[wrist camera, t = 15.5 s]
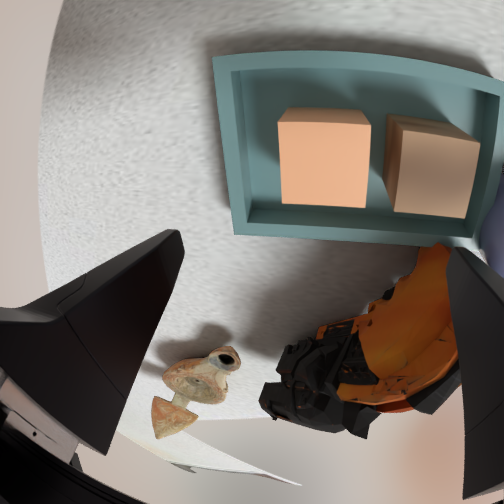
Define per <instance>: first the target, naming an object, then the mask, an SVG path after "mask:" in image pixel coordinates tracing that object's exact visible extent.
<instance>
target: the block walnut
mask: <svg viewBox="0 0 504 504" xmlns="http://www.w3.org/2000/svg"><path fill="white" fill-rule="evenodd" d="M479 150H480V142H478V141H477V140H475V139H474V138H473V137H471V136H470V135H468V134H467V133H465V132H464V131H463V130H461V129H460V128H458V127H457V126H455V125H454V124H452V123H449V122H444V121H438V120H432V119H426V118H419V117H412V116H404V115H396V114H387V117H386V137H385V151H384V164H383V174H382V180H383V183H384V186H385V188H386V191H387V194H388V196H389V199H390V202H391V205H392V208H393V210H394V212H405V213H416V214H426V215H436V216H446V217H455V218H464V219H465V216H466V212H467V208H468V204H469V200H470V196H471V191H472V187H473V182H474V177H475V172H476V167H477V162H478V156H479Z"/></svg>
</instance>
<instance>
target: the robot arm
mask: <svg viewBox="0 0 504 504" xmlns="http://www.w3.org/2000/svg"><path fill="white" fill-rule="evenodd" d="M184 254H185V250H184V246H183V242H182V238H181V234H180V232H179V231H178V230H176V229H167V230H165V231H163V232H161V233H159V234H157V235H155V236H153V237H151V238H149V239H147V240H145V241H144V242H142V243H140V244H138V245H136V246H134V247H132V248H130V249H129V250H127V251H125V252H123V253H121V254H119V255H117V256H116V257H114V258H112V259H110V260H108V261H106V262H105V263H103V264H101V265H99V266H97V267H96V268H94V269H92V270H90V271H89V272H87V273H85V274H83V275H81V276H80V277H78V278H76V279H74V280H73V281H71V282H69V283H67V284H65V285H64V286H62V287H60V288H58V289H56V290H54V291H52V292H50V293H48V294H46V295H44V296H42V297H41V298H39V299H37V300H35V301H33V302H31V303H29V304H27V305H25V306H22V307H18V308H3V307H0V504H148V503H145V502H143V501H141V500H138V499H136V498H134V497H131V496H129V495H127V494H125V493H122V492H120V491H118V490H116V489H114V488H112V487H110V486H108V485H106V484H104V483H102V482H100V481H98V480H96V479H94V478H92V477H90V476H89V475H87V474H85V473H83V470H82V467H81V464H80V461H79V458H78V454H77V453H75V450H76V448H77V446H78V444H79V443H81V444H83V445H85V446H86V447H89V448H90V449H92V450H94V451H96V452H98V453H100V454H102V455H104V456H106V454H107V452H108V449H109V447H110V444H111V441H112V439H113V436H114V433H115V430H116V428H117V425H118V422H119V420H120V417H121V414H122V412H123V409H124V407H125V404H126V401H127V398H128V396H129V393H130V391H131V388H132V386H133V383H134V381H135V378H136V376H137V373H138V371H139V368H140V366H141V363H142V361H143V359H144V356H145V354H146V351H147V349H148V347H149V344H150V342H151V340H152V337H153V335H154V333H155V330H156V328H157V326H158V323H159V321H160V319H161V317H162V314H163V312H164V310H165V308H166V305H167V303H168V301H169V299H170V296H171V294H172V291H173V289H174V286H175V283H176V280H177V276H178V273H179V270H180V267H181V264H182V262H183V259H184ZM446 279H447V287H448V295H449V303H450V312H451V318H452V323H453V328H454V334H455V340H456V346H457V352H458V359H459V366H460V374H461V383H462V394H463V406H464V424H465V425H464V427H465V435H466V436H465V460H464V461H465V462H464V463H465V464H464V484H463V500H464V499H469V498H473V497H477V496H481V495H484V494H488V493H491V492H495V491H498V490H501V489H504V278H503V277H501V276H500V275H499V274H498V273H497V272H496V271H494V270H493V269H492V268H491V267H490V266H488V265H487V264H486V263H485V262H483V261H482V260H481V259H480V258H478V257H477V256H476V255H475V254H473V253H472V252H471V251H469V250H468V249H467V248H465V247H459V246H455V247H453V249H452V251H451V254H450V257H449V260H448V263H447V266H446ZM493 504H504V499H503V500H501V501H498V502H495V503H493Z"/></svg>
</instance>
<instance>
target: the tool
mask: <svg viewBox="0 0 504 504" xmlns="http://www.w3.org/2000/svg"><path fill="white" fill-rule="evenodd" d="M451 251H452V248H450V247H448V246H444V245H441V244H440V243H439V242H437V243H436V244H435V245H434V246H432V247H422V246H421V247H420V249H419V250H418V258H417V263H416V267H415V269H414V270H413V272H412V273H411V274H410V275H407V276H404V277H401V278H400V279H399V280H398V282H397V284H396V286H395V288H392V289H390V290H388V291H386V292H385V293H384V295H383V297H382V299H379V300H376V301H374V302H372V303H369V308H368V314H364V315H361V316H357V317H354V318H351V319H347V320H343V321H340V322H336V323H333V324H329V325H325V326H321V327H319V329H318V333H317V336H316V339H313V338H311V337H308V340H301V341H298V344H297V345H294V346H292V345H287V346H286V347H285V350H284V352H283V354H282V356H281V359H280V361H279V363H278V366H277V368H276V371H277V373H279V374H280V375H281V382H274V383H267V382H265V384H264V387H263V390H262V392H261V395H260V398H259V403H260V406H261V408H262V409H263V410H264V411H266V412H267V413H268V414H269V415H270V416H271V417H272V418H273V420H275V421H276V420H277V418H280V419H283V420H286V421H289V422H292V423H295V424H298V425H302V426H305V427H309V428H312V429H315V430H320V431H325V432H331V433H337V432H340V431H343V430H345V429H347V430H348V431H349V432H350V433H351V434H353V435H355V436H358V437H361V438H364V439H367V435H368V430H369V425H370V423H371V422H372V421H374V420H375V419H376V418H377V417H378V416H379V415H380V414H381V413H379V412H382V413H398V412H400V413H401V412H406V411H410V410H413V409H415V410H417V411H419V412H422V413H426V414H431V415H432V414H433V413H434V412H435V411H436V410H437V409H438V408H439V407H440V406H441V405H442V404H443V403H444V402H445V401H446V400H447V398H448V397H449V396H450V395H451V394H452V393H453V392H454V391H455V390H456V389H457V388H458V387H459V386H460V385H462V383H461V374H460V366H459V359H458V352H457V346H456V340H455V334H454V328H453V323H452V318H451V312H450V303H449V295H448V287H447V279H446V266H447V263H448V260H449V257H450V254H451Z"/></svg>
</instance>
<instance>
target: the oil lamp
mask: <svg viewBox="0 0 504 504" xmlns="http://www.w3.org/2000/svg"><path fill="white" fill-rule="evenodd" d="M240 365H241V361H240V358H239V356H238V354H237V352H236V351H235V350H234V348H233V347H231V346H225V347H220V348H217V349H215V350H213V351H212V352H211V353H210V354H209V356H208V357H205V358H191V359H185V360H181V361H179V362H177V363H175V364H174V365H172V366H171V367H170V368H168V369H167V370H166V371H165V372H164V374H163V377H162V378H163V381H164V383H165V384H166V385H167V386H168V387H169V388H170V389H171V390H173V391H174V392H175V395H174V397H173V399H172V401H171V402H170V401H167V400H165V399H162V398H160V397H157V396H154V398H153V402H152V409H151V415H152V424H153V428H154V432H155V437H156V439H161V438H163V437H166V436H169V435H172V434H175V433H177V432H179V431H181V430H183V429H185V428H187V427H188V426H190V425H191V424H192V423H194V422H195V421H196V420H197V418H198V415H196V414H194V413H192V412H190V411H189V410H187V409H186V407H187V405H188V403H189V402H190V401H195V402H199V403H204V404H218V403H221V402H223V401H224V400H225V398H226V393H227V392H228V385H227V382H226V376H227V375H230V374H231V372H232V371H235V370H238V369H239V368H240Z"/></svg>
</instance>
